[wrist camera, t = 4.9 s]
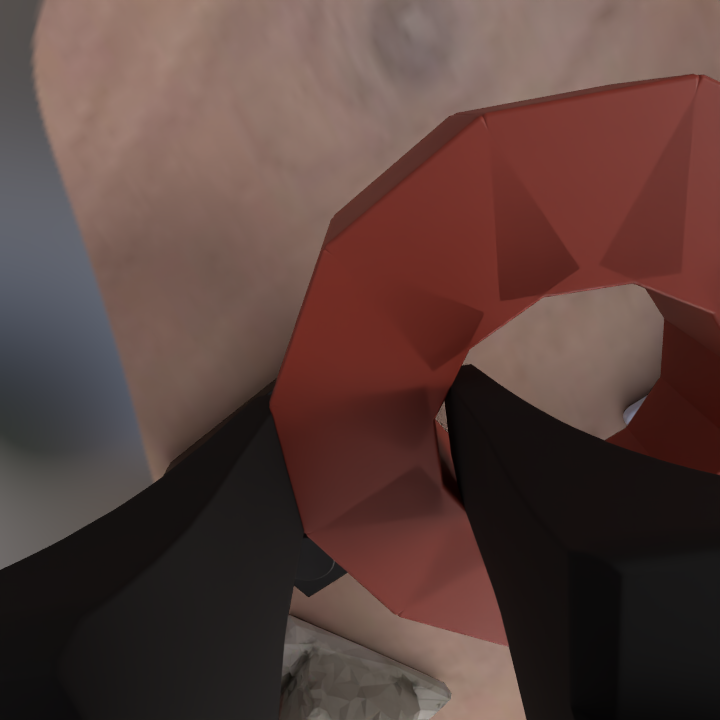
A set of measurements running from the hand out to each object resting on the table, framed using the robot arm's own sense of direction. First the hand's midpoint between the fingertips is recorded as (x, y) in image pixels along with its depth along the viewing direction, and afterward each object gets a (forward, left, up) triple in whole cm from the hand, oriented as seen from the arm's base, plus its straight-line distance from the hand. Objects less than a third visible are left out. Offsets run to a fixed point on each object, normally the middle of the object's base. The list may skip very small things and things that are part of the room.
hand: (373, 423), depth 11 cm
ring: (-3, +2, -1) cm, 4 cm away
